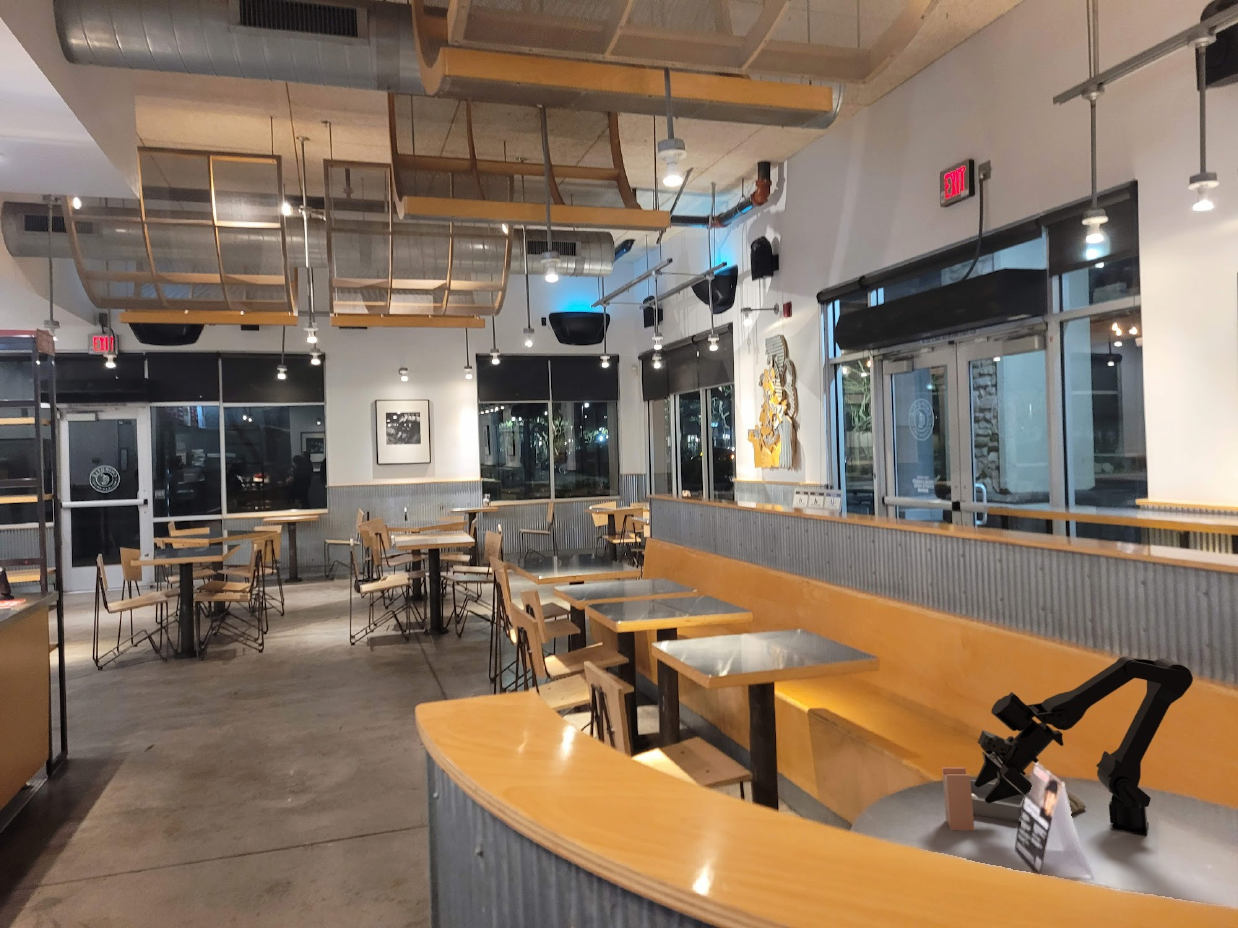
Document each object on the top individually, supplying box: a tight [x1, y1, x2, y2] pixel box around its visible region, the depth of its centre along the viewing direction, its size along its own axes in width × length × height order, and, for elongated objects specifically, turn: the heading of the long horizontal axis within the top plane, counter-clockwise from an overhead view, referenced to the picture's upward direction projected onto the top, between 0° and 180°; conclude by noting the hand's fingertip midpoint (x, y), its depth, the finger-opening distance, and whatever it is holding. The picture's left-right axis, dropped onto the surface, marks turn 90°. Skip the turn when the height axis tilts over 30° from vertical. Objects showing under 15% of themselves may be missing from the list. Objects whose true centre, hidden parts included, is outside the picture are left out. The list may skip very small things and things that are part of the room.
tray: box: [970, 779, 1025, 823], centre depth 193 cm, size 15×12×4 cm
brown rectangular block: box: [941, 766, 975, 831], centre depth 184 cm, size 5×5×12 cm
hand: (980, 793), depth 183 cm, fingers open, 9 cm apart
